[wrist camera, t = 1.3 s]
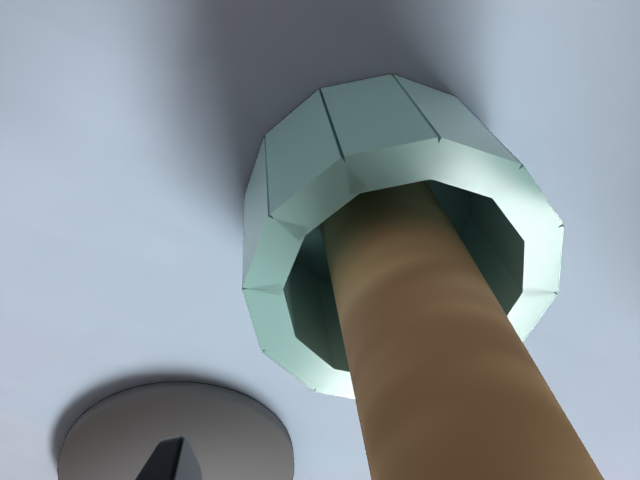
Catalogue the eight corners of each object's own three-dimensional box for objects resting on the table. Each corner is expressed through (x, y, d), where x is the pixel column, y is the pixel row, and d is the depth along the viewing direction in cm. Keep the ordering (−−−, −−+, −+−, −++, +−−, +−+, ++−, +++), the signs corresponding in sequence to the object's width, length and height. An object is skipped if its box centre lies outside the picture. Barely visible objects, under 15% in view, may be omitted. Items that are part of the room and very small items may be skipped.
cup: (492, 53, 13) (573, 110, 10) (491, 274, 17) (551, 370, 13) (219, 108, 13) (208, 183, 10) (277, 316, 17) (283, 423, 13)
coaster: (266, 361, 18) (267, 374, 17) (310, 504, 22) (312, 518, 22) (20, 409, 18) (14, 424, 17) (112, 543, 22) (109, 558, 22)
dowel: (429, 147, 14) (646, 466, 6) (435, 247, 15) (614, 597, 8) (309, 171, 14) (379, 519, 6) (328, 268, 15) (403, 638, 8)
